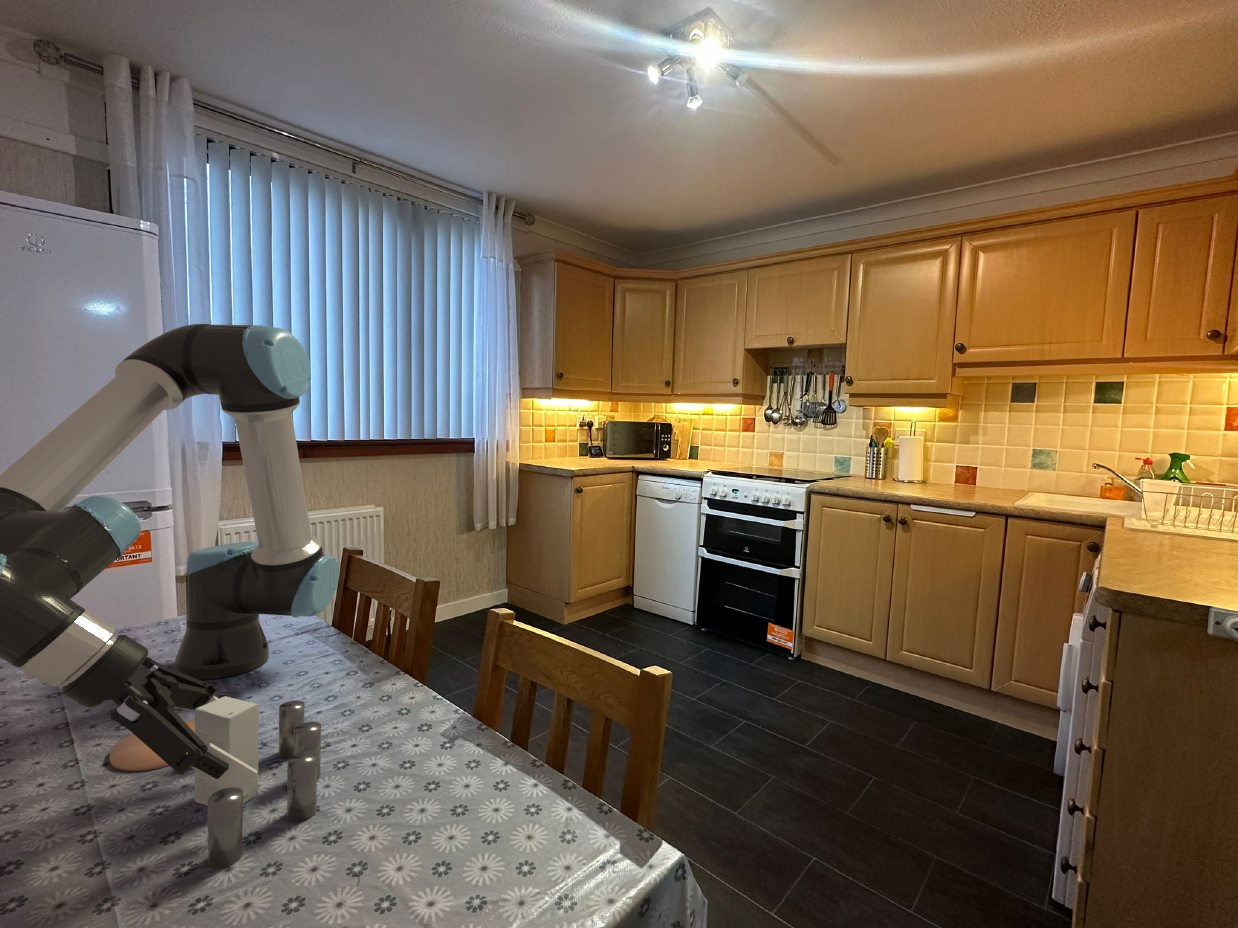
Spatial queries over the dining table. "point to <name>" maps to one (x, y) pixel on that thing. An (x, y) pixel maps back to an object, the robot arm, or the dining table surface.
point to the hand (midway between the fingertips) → (246, 754)
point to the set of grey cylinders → (302, 776)
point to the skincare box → (228, 740)
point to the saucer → (137, 754)
